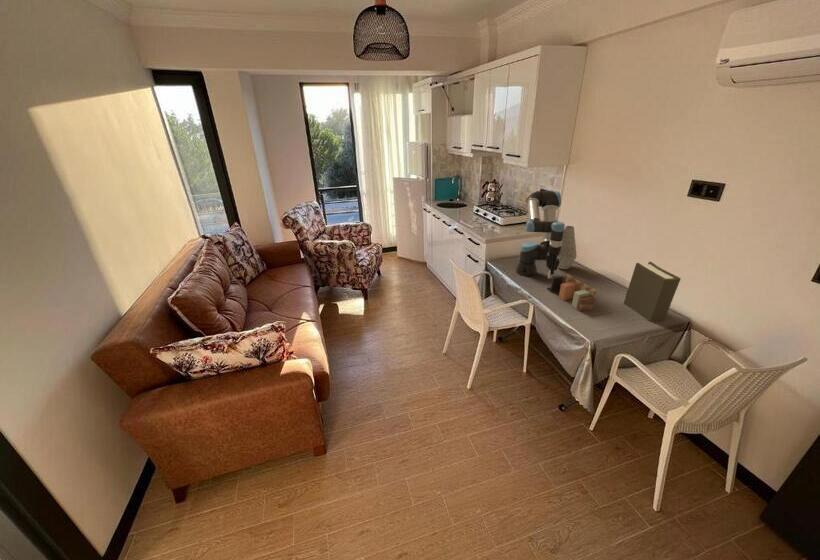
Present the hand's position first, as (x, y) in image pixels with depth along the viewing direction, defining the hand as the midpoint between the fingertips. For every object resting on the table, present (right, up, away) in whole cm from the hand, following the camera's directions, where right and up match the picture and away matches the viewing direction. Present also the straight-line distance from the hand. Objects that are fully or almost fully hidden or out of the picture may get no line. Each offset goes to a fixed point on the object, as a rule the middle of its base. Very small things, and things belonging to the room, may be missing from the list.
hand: (549, 278), depth 226 cm
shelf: (+8, -15, -15) cm, 22 cm away
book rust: (+5, -13, -12) cm, 18 cm away
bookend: (+2, -8, -1) cm, 8 cm away
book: (+43, -21, -30) cm, 57 cm away
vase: (+23, +8, +31) cm, 40 cm away
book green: (+9, -18, -22) cm, 29 cm away
